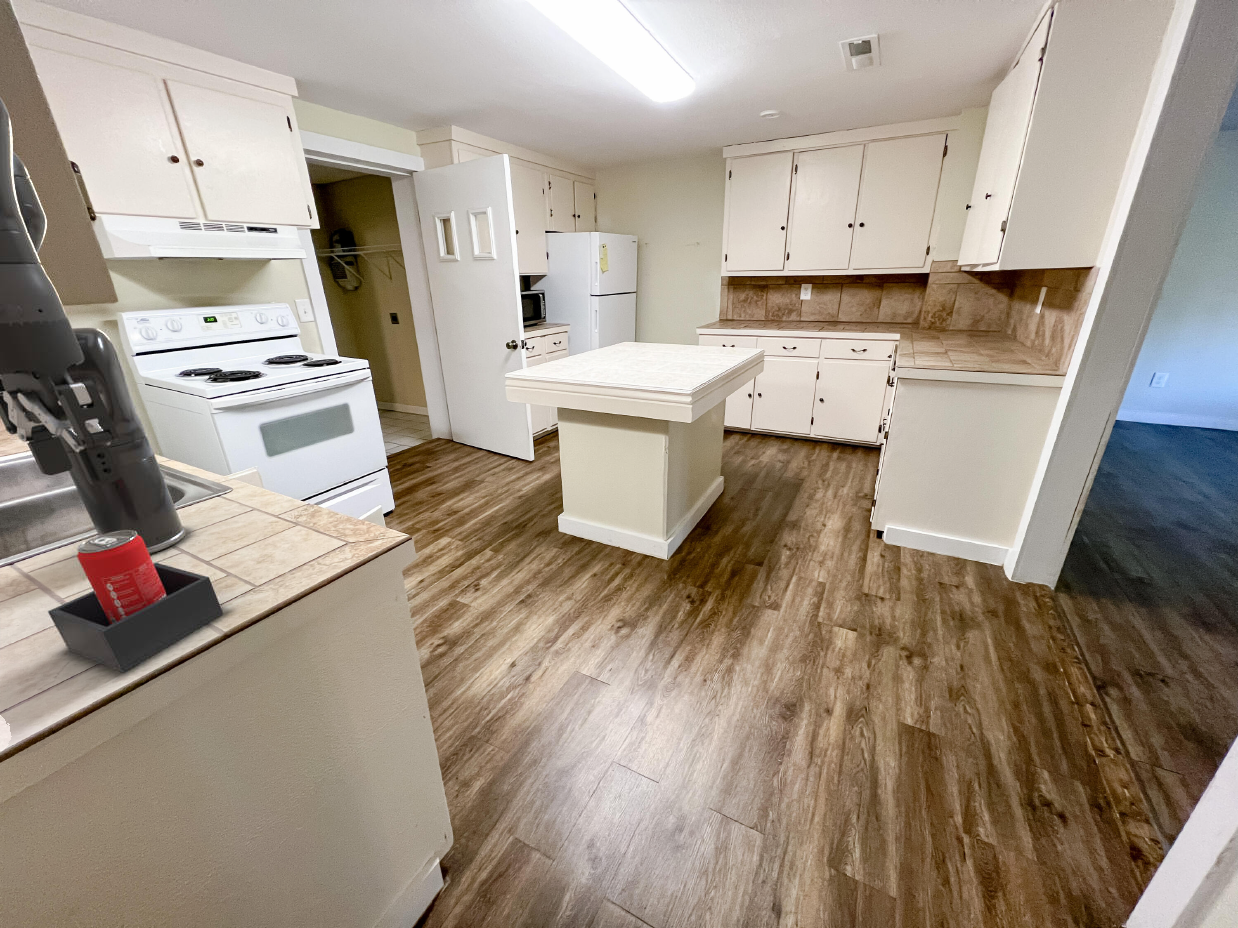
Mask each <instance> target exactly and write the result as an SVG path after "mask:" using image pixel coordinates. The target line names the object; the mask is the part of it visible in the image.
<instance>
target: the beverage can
mask: <svg viewBox="0 0 1238 928" xmlns="http://www.w3.org/2000/svg"><path fill="white" fill-rule="evenodd" d="M76 550H77V552H78V553H77V556H76V557H77V560H78V562H79V564H80V566H81V568H82V570H83V572H84V574H85V576H86V578H87V580H88V582H89V584H90V585H91V588H92V591H94V592H95V594H96V596H97V598H98V600H99V602H100V604H101V606H102V608H103V610H104V612H105V614H106V616H107V618H108V620H109V622H110V624H111V625H112V624H114V623H115V622H117V621H119V620H121V619H123V618H125V617H127V616H129V615H131V614H133V613H135V612H137V611H139V610H141V609H143V608H145V607H147V606H149V605H151V604H153V603H155V602H157V601H159V600H161V599H163V598H165V597H167V594H166V592H165V590H164V587H163V585H162V583H161V580H160V578H159V576H158V573H157V571H156V569H155V566H154V562H153V559H152V557H151V554H149V553H148V550H147V548H146V546H145V543H144V541H143V539H142V537H140V536H139V535H137V532H135V531H132V530H123V531H116V532H111V533H107V534H103V535H100V536H98V535H97V536H95V537H92V538H89V539H88V540H85V541H83V542H82V543H81V544H80V545H78V546H77V548H76Z"/></svg>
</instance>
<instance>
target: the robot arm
mask: <svg viewBox="0 0 1238 928" xmlns="http://www.w3.org/2000/svg"><path fill="white" fill-rule="evenodd" d="M30 177H31V176H30V175H29V172H28V170H27V167H26V166H25V164H24V162H23V161H22V160H21V158H20V157H19V156H18V155H17V154H16V152H15V151H14V150H13V130H12V122H11V117H10V113H9V111H8V108H7V107H6V104H5V103H4V100H3V99H2V97H1V96H0V419H1V422H2V423H3V425H4V427H5V431H6V432H7V433H9V434H10V435H17V437H18V439H19V440H21V441H22V442H23V443H27V446H28V448H29V450H30V452H31V454H32V457H33V458H34V460H35V462H36V464H37V466H38V468H39V470H40V473H42V474H43V475H45V476H54V475H59V474H62V473H66V472H68V473H69V475H70V477H71V480H72V483H74V486H75V488H76V490H77V492H78V495H79V497H80V499H81V501H82V503H83V505H84V507H85V510H86V512H87V514H88V516H89V518H90V520H91V522H92V524H93V527H94V529H95V531H96V533H97V536H100V535H103V534H107V533H111V532H116V531H123V530H132V531H135V532H137V535H139V536H140V537H142V539H143V541H144V543H145V546H146V548H147V550H148V553H149V555H151V554H154V553H156V552H159V551H162V550H165V549H167V548H169V547H172V546H173V545H175V544H177V543H179V542H180V541H181V540H183V539H184V538H185V536H186V534H187V533H186V529H185V527H184V526H183V524H182V521H181V519H180V516H179V514H178V511H177V509H176V505H175V503H174V501H173V498H172V495H171V493H170V491H169V488H168V485H167V483H166V480H165V478H164V476H163V475H164V474H163V472H162V470H161V467H160V465H159V463H158V460H157V457H156V455H155V452H154V450H153V447H152V445H151V443H150V440H149V437H148V435H147V432H146V430H145V428H144V425H143V423H142V421H141V418H140V415H139V413H138V411H137V407H136V405H135V403H134V400H133V397H132V394H131V392H130V389H129V386H128V383H127V382H128V381H127V379H126V376H125V372H124V369H123V365H122V362H121V360H120V358H119V355H118V352H117V350H116V348H115V345H114V343H113V342H112V339H110V337H109V336H108V335H107V334H106V332H104V331H103V330H101V329H99V328H96V327H75V328H73V327H72V325H71V322H70V319H69V317H68V315H67V312H66V310H65V308H64V305H63V303H62V301H61V299H60V296H59V294H58V291H57V289H56V287H55V286H54V284H53V282H52V281H51V279H50V277H49V276H48V274H47V273H46V271H45V269H44V267H43V264H41V261H40V258H39V256H38V253H39V252H40V249H41V247H42V244H43V242H44V240H45V236H46V233H47V232H46V231H47V227H48V226H47V224H48V220H47V216H46V214H45V213H46V212H44V208H43V206H42V204H41V201H40V198H39V196H38V193H37V191H36V189H35V187H34V184H33V181H32V179H30Z"/></svg>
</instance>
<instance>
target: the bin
mask: <svg viewBox="0 0 1238 928" xmlns="http://www.w3.org/2000/svg"><path fill="white" fill-rule="evenodd" d="M153 564H154V566H155V569H156V571H157V573H158V576H159V578H160V580H161V583H162V585H163V587H164V590H165V592H166V594H167V597H165V598H163V599H161V600H159V601H157V602H155V603H153V604H151V605H149V606H147V607H145V608H143V609H141V610H139V611H137V612H135V613H133V614H131V615H129V616H127V617H125V618H123V619H121V620H119V621H117V622H115V623H114V624H112V625H111V624H110V622H109V620H108V618H107V616H106V614H105V612H104V610H103V608H102V606H101V604H100V602H99V600H98V598H97V596H96V594H95V592H94V590H91V591H89V592H87V593H86V594H84V595H81V596H78V597H76V598H74V599H72V600H70V601H68V602H65V603H63V604H61V605H59V606H57V607H55V608H52V609H50V610H48V611H47V613H48V615H49V617H50V619H51V620H52V622H53V625H54V626H55V628H56V629H57V631H58V633H59V635H60V637H61V638H62V639H61V640H63V642H64V644H65V646H66V648H67V650H68V651H69V652H71V653H74V654H76V655H79V656H81V657H83V658H86V659H88V660H91V661H94V662H96V663H97V664H101V665H103V666H106V667H108V668H111V669H113V670H115V671H119V672H120V673H122V674H123V673H126V672H127V671H129V670H130V669H132V668H134V667H136V666H137V665H139V664H141V663H142V662H144V661H147V660H148V659H150V658H151V657H153V656H155V655H156V654H159V652H161V651H163V650H165V649H167V648H168V647H170V646H172V645H174V644H175V643H177V642H178V641H180V640H181V639H183V638H185V637H186V636H189V635H190V634H192V633H194V632H196V631H197V630H199V629H200V628H202V627H204V626H205V625H207V624H209V623H211V622H213V621H214V620H216V619H217V618H219V617H221V616H223V615H224V612H223V610H222V607H221V604H220V601H219V599H218V596H217V593H216V591H215V589H214V587H213V584H212V582H211V578H210V577H209V576H206V575H202V574H199V573H195V572H193V571H192V572H191V571H188V570H185V569H180V568H177V567H173V566H170V565H167V564H162V563H158V562H155V563H154V562H153Z"/></svg>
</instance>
